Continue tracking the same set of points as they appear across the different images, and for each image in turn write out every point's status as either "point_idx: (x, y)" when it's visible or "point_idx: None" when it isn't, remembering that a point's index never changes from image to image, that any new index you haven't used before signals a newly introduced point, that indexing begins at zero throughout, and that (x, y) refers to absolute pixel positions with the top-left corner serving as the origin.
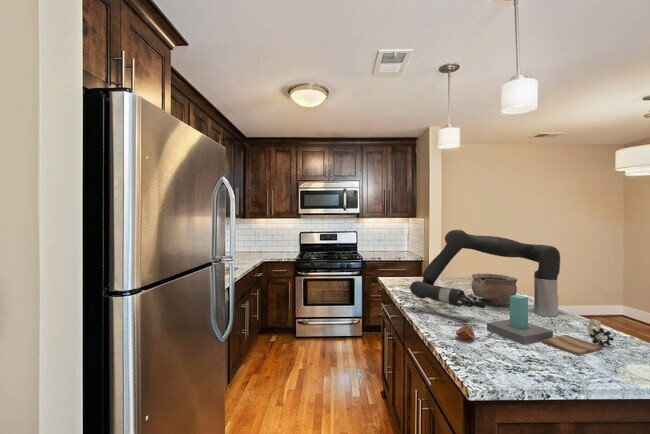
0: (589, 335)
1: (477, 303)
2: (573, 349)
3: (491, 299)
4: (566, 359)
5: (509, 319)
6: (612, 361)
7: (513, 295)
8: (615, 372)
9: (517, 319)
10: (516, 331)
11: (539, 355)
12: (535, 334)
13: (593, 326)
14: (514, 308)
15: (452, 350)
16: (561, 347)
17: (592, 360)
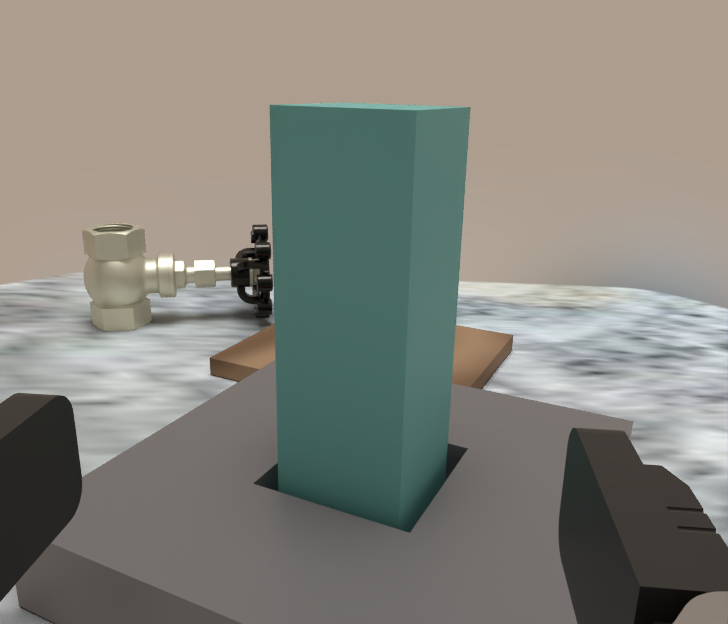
0: (128, 320)
1: (725, 564)
2: (478, 341)
3: (26, 396)
4: (623, 369)
5: (83, 550)
6: (457, 307)
7: (348, 107)
8: (581, 307)
9: (440, 375)
10: (553, 462)
11: (723, 427)
12: (486, 391)
13: (139, 257)
14: (436, 266)
15: None
16: (489, 366)
17: (518, 330)
